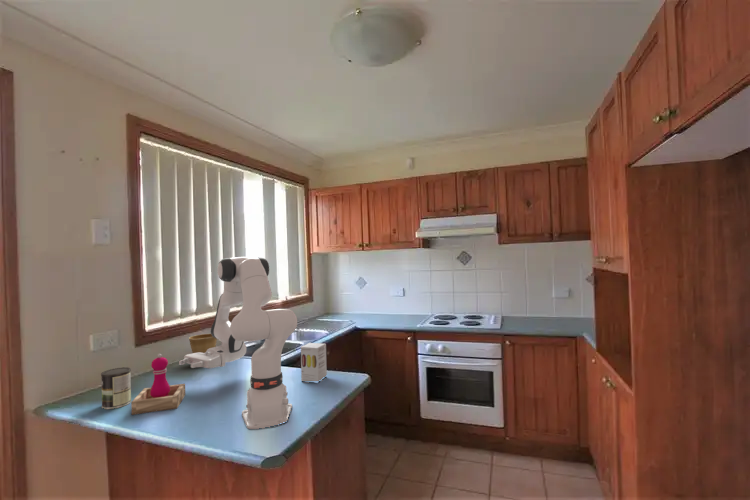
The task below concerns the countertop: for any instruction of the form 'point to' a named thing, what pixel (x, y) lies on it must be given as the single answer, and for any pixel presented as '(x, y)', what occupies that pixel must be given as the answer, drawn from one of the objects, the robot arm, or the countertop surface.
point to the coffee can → (116, 388)
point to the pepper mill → (159, 377)
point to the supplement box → (313, 362)
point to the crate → (158, 400)
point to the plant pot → (202, 343)
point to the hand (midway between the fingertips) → (185, 364)
